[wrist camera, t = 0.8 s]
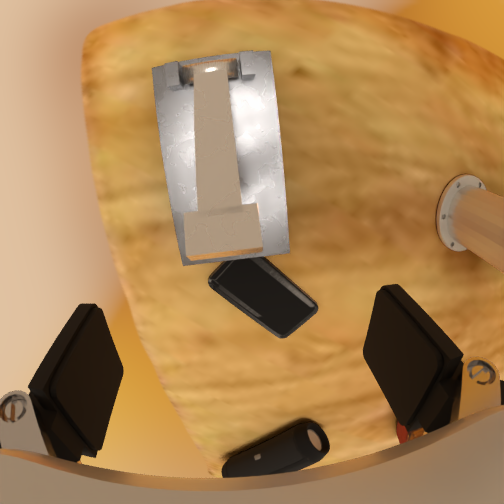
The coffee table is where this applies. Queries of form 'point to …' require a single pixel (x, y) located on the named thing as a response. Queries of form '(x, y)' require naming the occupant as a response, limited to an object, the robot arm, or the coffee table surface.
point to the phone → (263, 294)
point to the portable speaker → (280, 453)
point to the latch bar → (217, 170)
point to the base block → (246, 141)
